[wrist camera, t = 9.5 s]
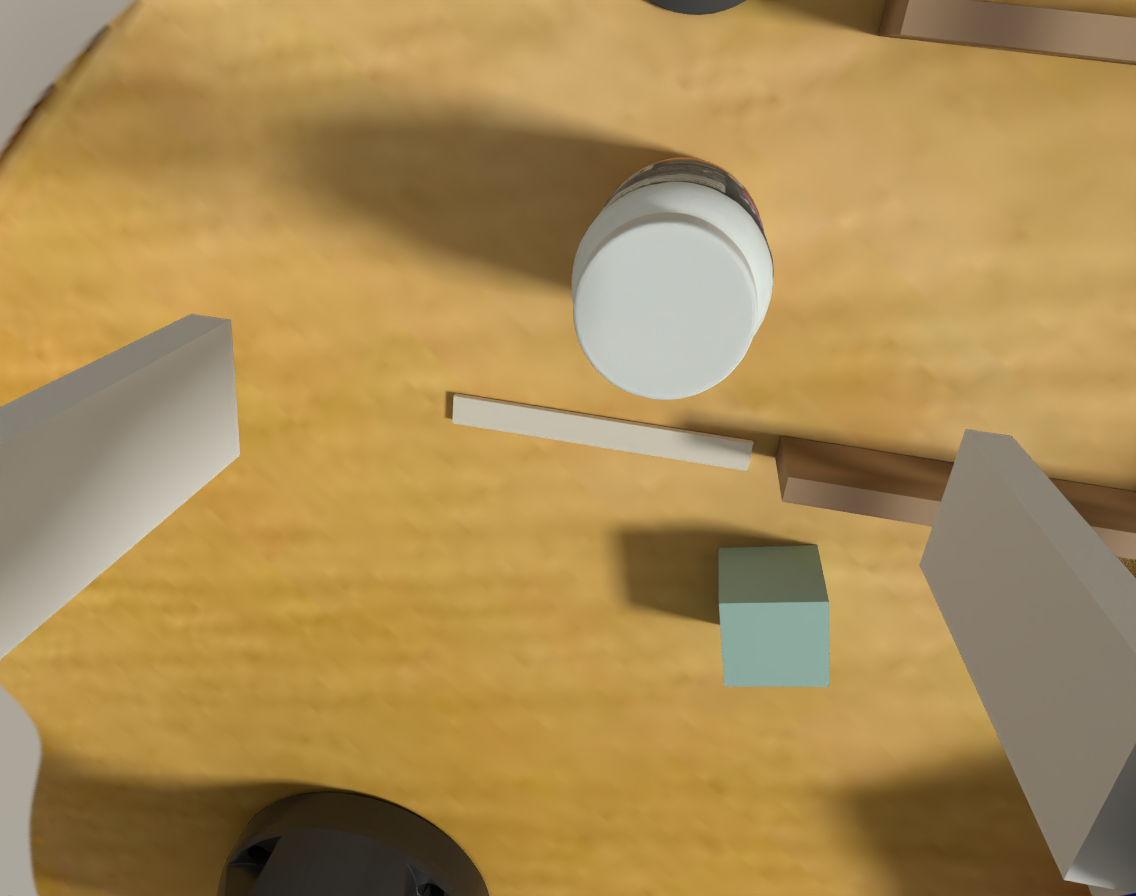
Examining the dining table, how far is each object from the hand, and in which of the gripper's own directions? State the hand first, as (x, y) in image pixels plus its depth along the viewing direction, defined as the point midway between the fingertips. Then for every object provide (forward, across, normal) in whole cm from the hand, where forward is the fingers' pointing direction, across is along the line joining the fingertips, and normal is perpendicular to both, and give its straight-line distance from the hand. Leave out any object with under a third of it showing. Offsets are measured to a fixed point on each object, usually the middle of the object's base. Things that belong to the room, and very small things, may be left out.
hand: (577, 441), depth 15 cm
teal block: (+17, +8, -13) cm, 23 cm away
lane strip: (+17, 0, -7) cm, 19 cm away
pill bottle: (+17, +2, +1) cm, 17 cm away
